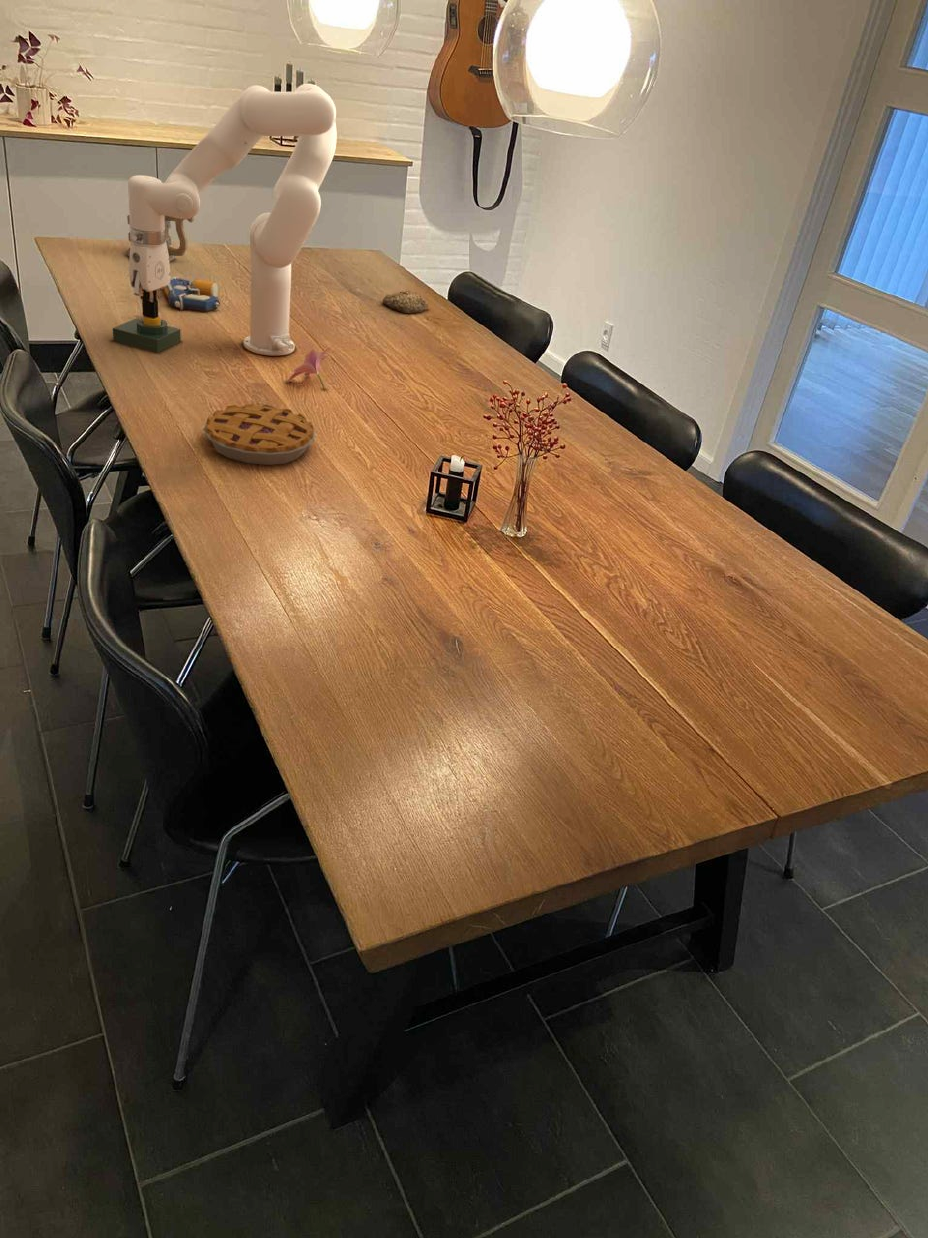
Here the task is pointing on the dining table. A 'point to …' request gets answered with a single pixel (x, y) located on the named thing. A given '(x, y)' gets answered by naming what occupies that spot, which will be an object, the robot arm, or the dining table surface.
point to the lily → (310, 364)
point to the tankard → (180, 232)
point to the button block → (147, 335)
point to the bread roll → (406, 302)
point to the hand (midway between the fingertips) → (150, 316)
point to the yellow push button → (152, 321)
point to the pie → (259, 434)
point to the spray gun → (192, 294)
